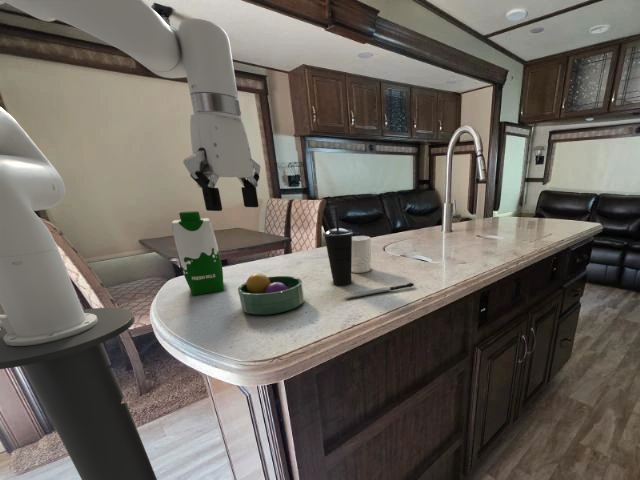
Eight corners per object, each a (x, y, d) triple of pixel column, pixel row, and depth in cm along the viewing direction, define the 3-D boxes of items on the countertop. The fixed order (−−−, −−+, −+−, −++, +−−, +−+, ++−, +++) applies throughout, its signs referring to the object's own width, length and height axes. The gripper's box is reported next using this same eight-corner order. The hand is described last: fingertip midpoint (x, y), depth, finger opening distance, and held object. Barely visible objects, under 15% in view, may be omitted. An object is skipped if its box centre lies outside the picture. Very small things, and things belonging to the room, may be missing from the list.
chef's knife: (339, 296, 77) (343, 299, 74) (339, 292, 76) (342, 295, 74) (409, 284, 84) (414, 287, 82) (409, 280, 84) (414, 282, 81)
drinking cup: (355, 277, 91) (350, 205, 84) (357, 285, 84) (352, 208, 77) (328, 280, 90) (320, 206, 83) (328, 288, 83) (320, 209, 76)
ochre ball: (261, 288, 67) (239, 291, 68) (273, 297, 72) (253, 300, 73) (263, 267, 70) (242, 271, 70) (275, 278, 74) (256, 281, 75)
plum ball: (260, 305, 69) (264, 287, 66) (267, 291, 73) (271, 274, 70) (283, 311, 70) (288, 295, 68) (288, 298, 74) (293, 282, 72)
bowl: (235, 320, 65) (230, 297, 63) (249, 298, 77) (245, 278, 75) (302, 313, 67) (299, 291, 65) (305, 293, 79) (303, 274, 77)
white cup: (361, 274, 94) (359, 241, 90) (341, 271, 98) (339, 239, 94) (377, 268, 100) (375, 237, 97) (357, 265, 104) (355, 235, 101)
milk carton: (188, 297, 78) (165, 214, 71) (189, 288, 85) (168, 211, 78) (228, 290, 82) (210, 211, 75) (225, 282, 89) (208, 209, 82)
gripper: (236, 119, 65) (249, 205, 71) (154, 100, 50) (180, 211, 56) (266, 118, 64) (277, 206, 69) (191, 96, 48) (214, 213, 54)
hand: (234, 208), depth 63 cm, fingers open, 9 cm apart
